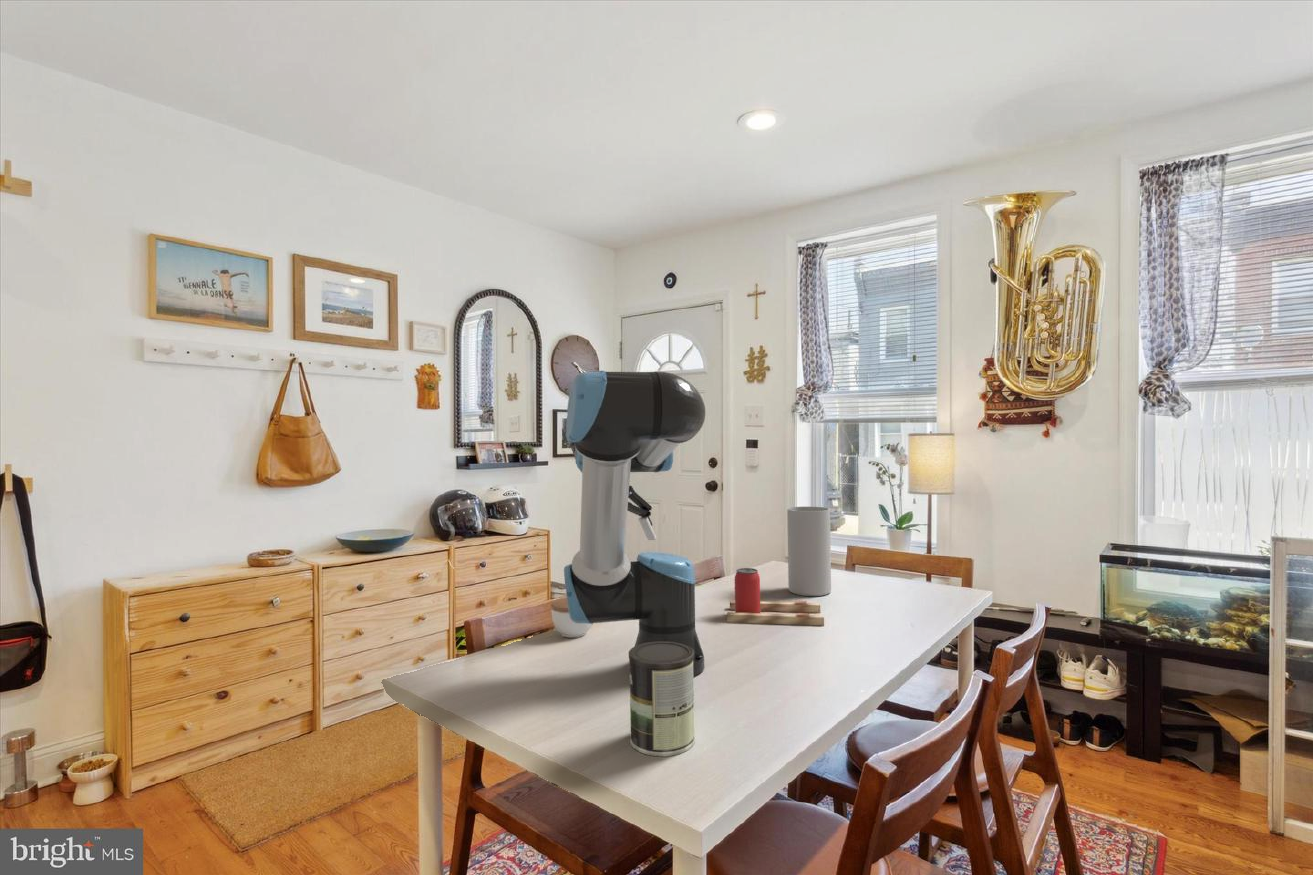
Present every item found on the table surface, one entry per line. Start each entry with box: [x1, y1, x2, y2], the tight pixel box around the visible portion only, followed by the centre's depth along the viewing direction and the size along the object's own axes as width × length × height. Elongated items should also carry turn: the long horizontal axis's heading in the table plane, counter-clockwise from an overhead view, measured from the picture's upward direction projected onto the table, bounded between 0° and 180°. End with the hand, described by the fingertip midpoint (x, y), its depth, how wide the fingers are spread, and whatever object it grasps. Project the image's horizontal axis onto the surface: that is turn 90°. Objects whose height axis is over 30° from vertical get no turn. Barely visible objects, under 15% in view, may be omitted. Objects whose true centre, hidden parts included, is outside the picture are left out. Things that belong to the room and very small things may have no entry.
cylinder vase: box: [786, 506, 832, 597], centre depth 192 cm, size 12×12×25 cm
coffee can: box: [628, 641, 696, 757], centre depth 100 cm, size 10×10×14 cm
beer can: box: [734, 567, 761, 613], centre depth 168 cm, size 7×7×12 cm
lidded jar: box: [550, 596, 593, 638], centre depth 155 cm, size 11×11×9 cm
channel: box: [726, 600, 825, 627], centre depth 167 cm, size 24×14×2 cm, turn 80°
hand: (637, 554), depth 163 cm, fingers open, 13 cm apart
